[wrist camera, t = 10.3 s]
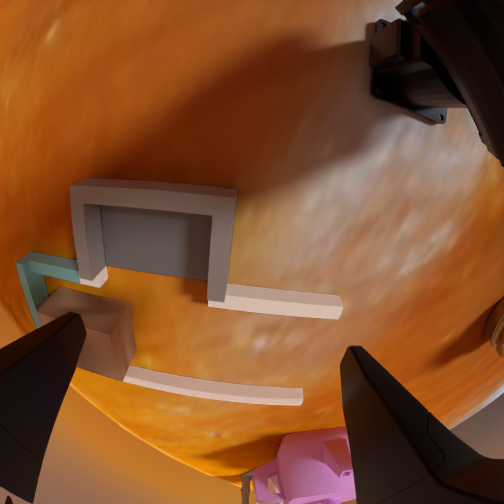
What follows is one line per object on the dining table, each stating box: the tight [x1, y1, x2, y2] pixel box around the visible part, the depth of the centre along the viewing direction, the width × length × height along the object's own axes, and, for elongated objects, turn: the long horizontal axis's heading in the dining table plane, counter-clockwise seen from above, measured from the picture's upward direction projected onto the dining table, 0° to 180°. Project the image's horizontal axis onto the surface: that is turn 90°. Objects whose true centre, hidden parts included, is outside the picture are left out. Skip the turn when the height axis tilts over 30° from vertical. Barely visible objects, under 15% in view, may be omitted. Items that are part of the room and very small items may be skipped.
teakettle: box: [253, 426, 356, 504], centre depth 28 cm, size 17×17×12 cm
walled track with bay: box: [16, 178, 343, 405], centre depth 21 cm, size 29×21×2 cm
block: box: [36, 286, 136, 382], centre depth 21 cm, size 8×6×4 cm
